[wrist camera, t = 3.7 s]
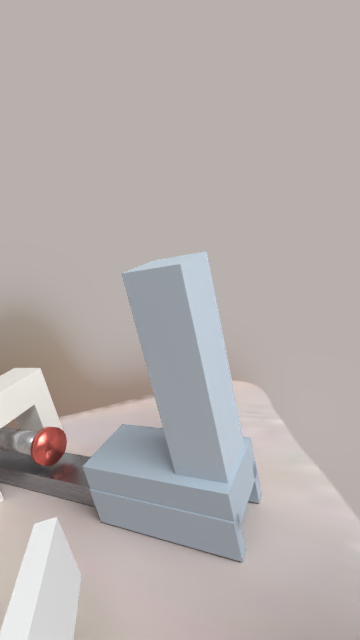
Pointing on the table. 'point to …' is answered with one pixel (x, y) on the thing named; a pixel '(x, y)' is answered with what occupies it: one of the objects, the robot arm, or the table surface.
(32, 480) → the rail
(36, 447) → the plunger
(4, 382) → the arch
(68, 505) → the table surface
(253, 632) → the table surface
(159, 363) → the carriage
